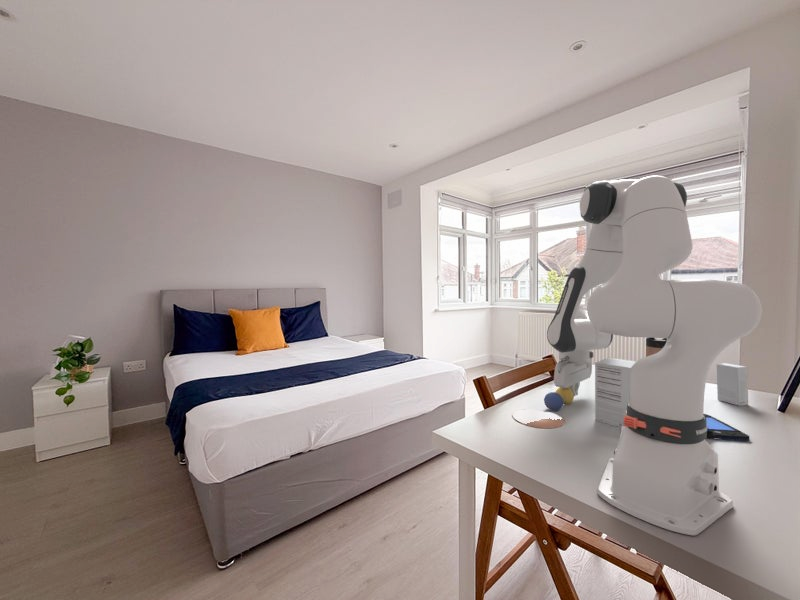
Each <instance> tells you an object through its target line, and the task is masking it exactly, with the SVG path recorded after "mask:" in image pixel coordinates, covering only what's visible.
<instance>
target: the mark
mask: <svg viewBox="0 0 800 600" xmlns="http://www.w3.org/2000/svg"><path fill="white" fill-rule="evenodd" d="M563 424H564V425H565V419H564V418H563V419H561V420H560V419H557V420H555V419H554V420H552V419H550V418H549V419H541V420H539V421H534V422H530V423H527V424H526V425H525V426H527V425H529V426H528V427H531V426H533V427H532V428H537V427H538V429H556V427H557V428H560V427H562V426H563ZM559 426H560V427H559Z"/></svg>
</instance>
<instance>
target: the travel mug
mask: <svg viewBox="0 0 800 600" xmlns="http://www.w3.org/2000/svg"><path fill="white" fill-rule="evenodd" d="M666 341H667V339H666V338H647V337H645V357H647V356H650V355H653V354H656V353H658V352H659V351H660V350H661V349H662V348H663V347H664V346H665V344H666Z"/></svg>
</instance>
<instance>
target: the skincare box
mask: <svg viewBox="0 0 800 600" xmlns="http://www.w3.org/2000/svg"><path fill="white" fill-rule="evenodd" d="M748 371H749V370H748V366H745V365H740V364H733V363H727V362H722V363H721V362H720V363H717V364H716V385H717V386H716V387H717V388H716V389H717V401H721V402H724V403H729V404H731V405H736V406H740V407H742V406H748V405H749V376H748V375H749V373H748Z"/></svg>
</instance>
